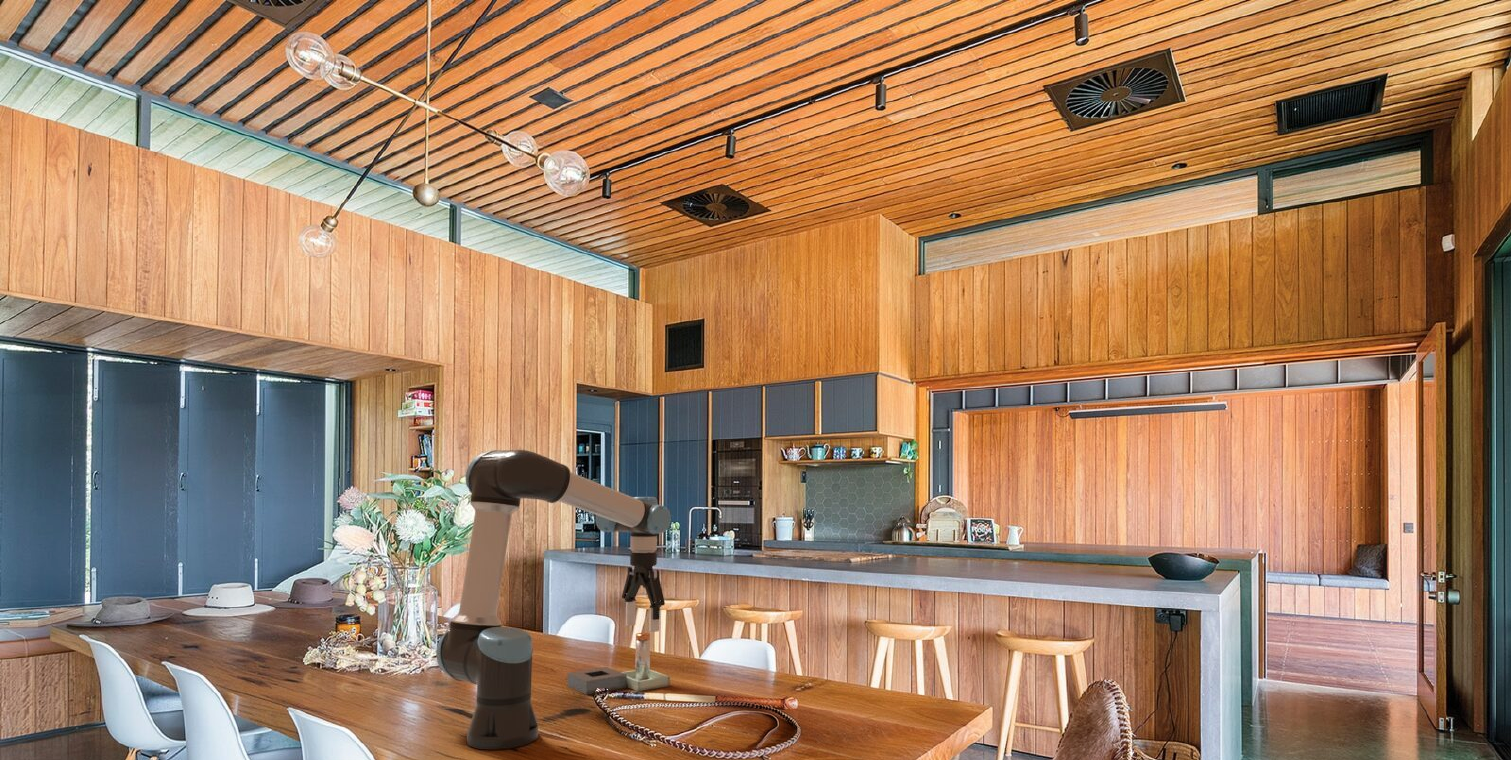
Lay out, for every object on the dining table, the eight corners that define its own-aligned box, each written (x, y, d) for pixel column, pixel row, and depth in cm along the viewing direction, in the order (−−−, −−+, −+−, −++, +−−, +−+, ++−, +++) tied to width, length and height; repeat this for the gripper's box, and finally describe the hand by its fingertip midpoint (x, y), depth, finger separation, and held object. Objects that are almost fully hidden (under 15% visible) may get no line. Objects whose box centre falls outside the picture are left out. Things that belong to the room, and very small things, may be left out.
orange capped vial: (639, 684, 234) (640, 635, 235) (632, 681, 237) (633, 633, 238) (652, 682, 236) (652, 634, 237) (645, 679, 239) (645, 632, 241)
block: (586, 694, 225) (586, 680, 226) (567, 685, 235) (567, 672, 235) (626, 687, 232) (626, 674, 233) (606, 679, 242) (606, 666, 242)
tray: (637, 691, 228) (638, 681, 228) (615, 682, 239) (615, 673, 239) (669, 685, 234) (669, 676, 234) (646, 677, 244) (646, 668, 245)
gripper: (677, 553, 233) (676, 633, 230) (634, 548, 253) (632, 621, 250) (654, 554, 228) (652, 635, 226) (611, 549, 248) (609, 623, 246)
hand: (642, 628), depth 238 cm, fingers open, 13 cm apart
